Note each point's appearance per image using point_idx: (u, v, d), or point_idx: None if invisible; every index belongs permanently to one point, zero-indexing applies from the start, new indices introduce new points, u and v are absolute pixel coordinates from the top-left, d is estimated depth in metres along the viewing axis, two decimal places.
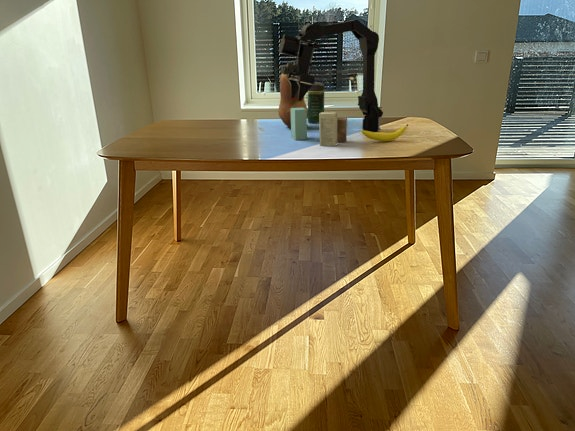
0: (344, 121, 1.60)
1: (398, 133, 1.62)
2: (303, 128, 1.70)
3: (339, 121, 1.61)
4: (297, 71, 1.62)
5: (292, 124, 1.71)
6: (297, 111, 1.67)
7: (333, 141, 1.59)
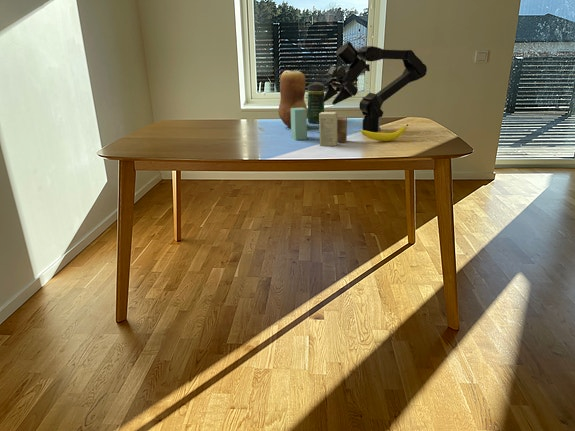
0: (344, 121, 1.60)
1: (398, 133, 1.62)
2: (303, 128, 1.70)
3: (339, 121, 1.61)
4: (343, 78, 1.68)
5: (292, 124, 1.71)
6: (297, 111, 1.67)
7: (333, 141, 1.59)
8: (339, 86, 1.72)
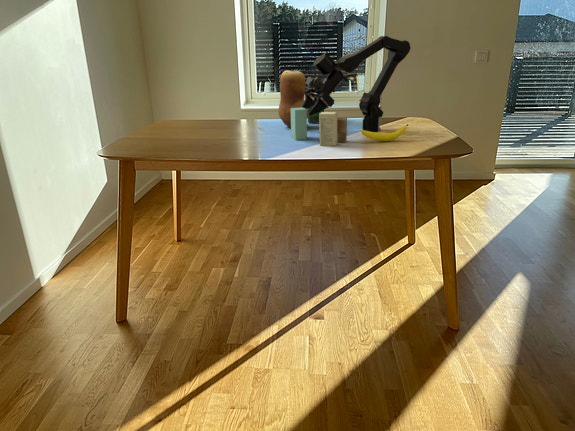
0: (344, 121, 1.60)
1: (398, 133, 1.62)
2: (303, 128, 1.70)
3: (339, 121, 1.61)
4: (320, 89, 1.66)
5: (292, 124, 1.71)
6: (297, 111, 1.67)
7: (333, 141, 1.59)
8: (316, 97, 1.71)
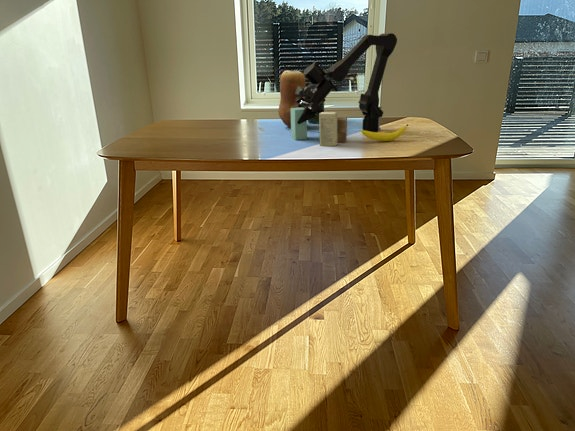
0: (344, 121, 1.60)
1: (398, 133, 1.62)
2: (303, 128, 1.70)
3: (339, 121, 1.61)
4: (310, 98, 1.66)
5: (292, 124, 1.71)
6: (297, 111, 1.67)
7: (333, 141, 1.59)
8: (307, 106, 1.71)
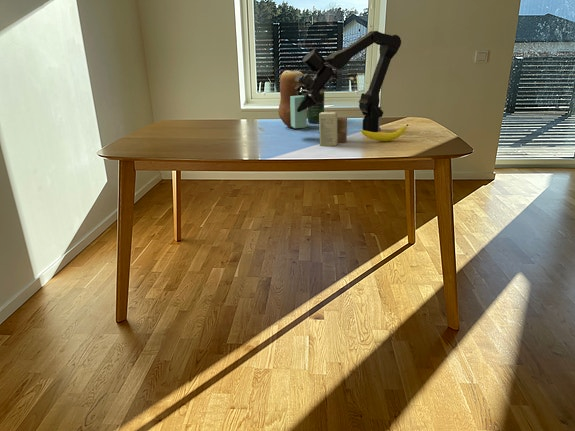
0: (344, 121, 1.60)
1: (398, 133, 1.62)
2: (303, 116, 1.68)
3: (339, 121, 1.61)
4: (310, 86, 1.64)
5: (292, 112, 1.69)
6: (297, 99, 1.65)
7: (333, 141, 1.59)
8: (306, 94, 1.69)
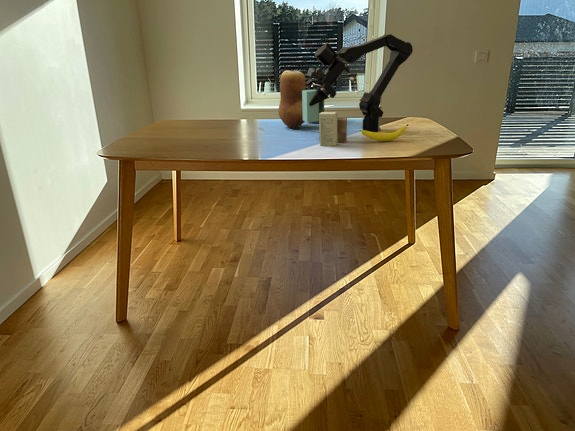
0: (344, 121, 1.60)
1: (398, 133, 1.62)
2: (315, 110, 1.69)
3: (339, 121, 1.61)
4: (322, 80, 1.65)
5: (304, 106, 1.70)
6: (309, 93, 1.65)
7: (333, 141, 1.59)
8: (318, 88, 1.69)
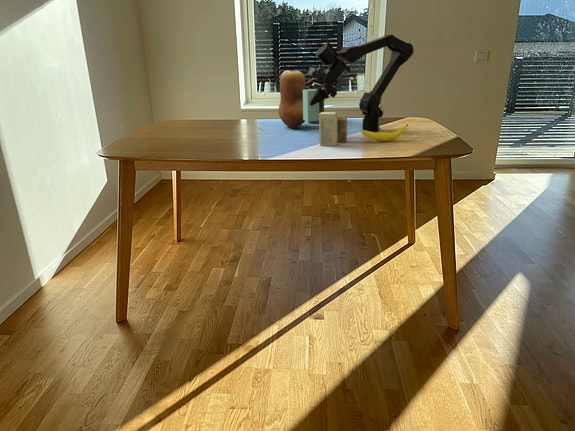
0: (344, 121, 1.60)
1: (398, 133, 1.62)
2: (316, 109, 1.69)
3: (339, 121, 1.61)
4: (323, 79, 1.65)
5: (304, 106, 1.70)
6: (310, 92, 1.65)
7: (333, 141, 1.59)
8: None
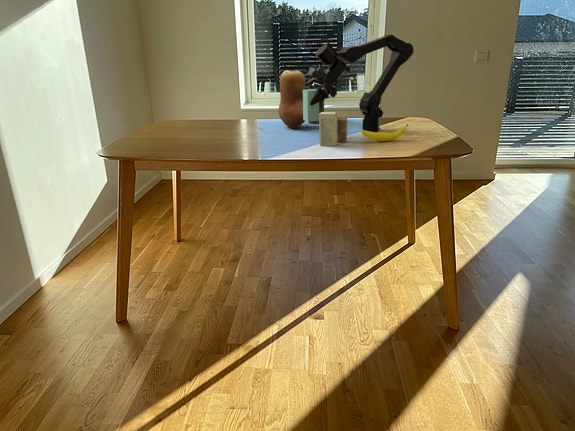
0: (344, 121, 1.60)
1: (398, 133, 1.62)
2: (316, 109, 1.69)
3: (339, 121, 1.61)
4: (323, 79, 1.65)
5: (304, 106, 1.70)
6: (310, 92, 1.65)
7: (333, 141, 1.59)
8: None
